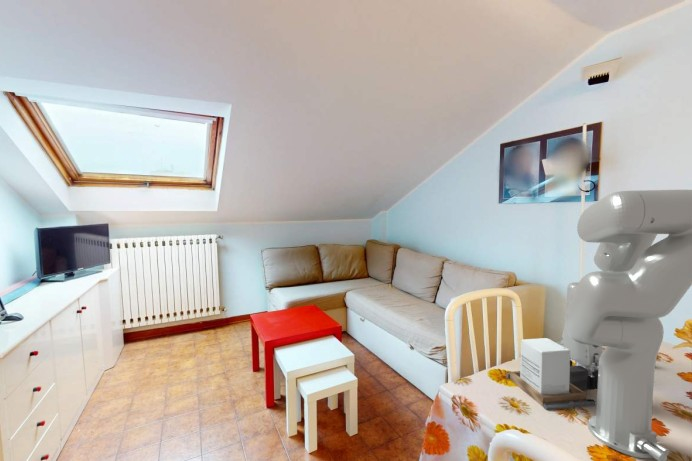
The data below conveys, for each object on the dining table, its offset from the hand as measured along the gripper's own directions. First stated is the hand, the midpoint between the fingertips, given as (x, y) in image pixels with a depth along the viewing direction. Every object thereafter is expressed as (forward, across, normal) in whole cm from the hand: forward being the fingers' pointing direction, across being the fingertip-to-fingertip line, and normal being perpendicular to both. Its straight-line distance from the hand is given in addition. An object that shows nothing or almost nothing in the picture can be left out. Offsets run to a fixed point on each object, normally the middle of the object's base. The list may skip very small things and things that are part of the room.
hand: (578, 380), depth 92 cm
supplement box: (+3, -1, +13) cm, 13 cm away
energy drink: (+3, +10, -12) cm, 16 cm away
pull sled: (+2, 0, +8) cm, 8 cm away
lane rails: (+3, 0, +10) cm, 11 cm away
